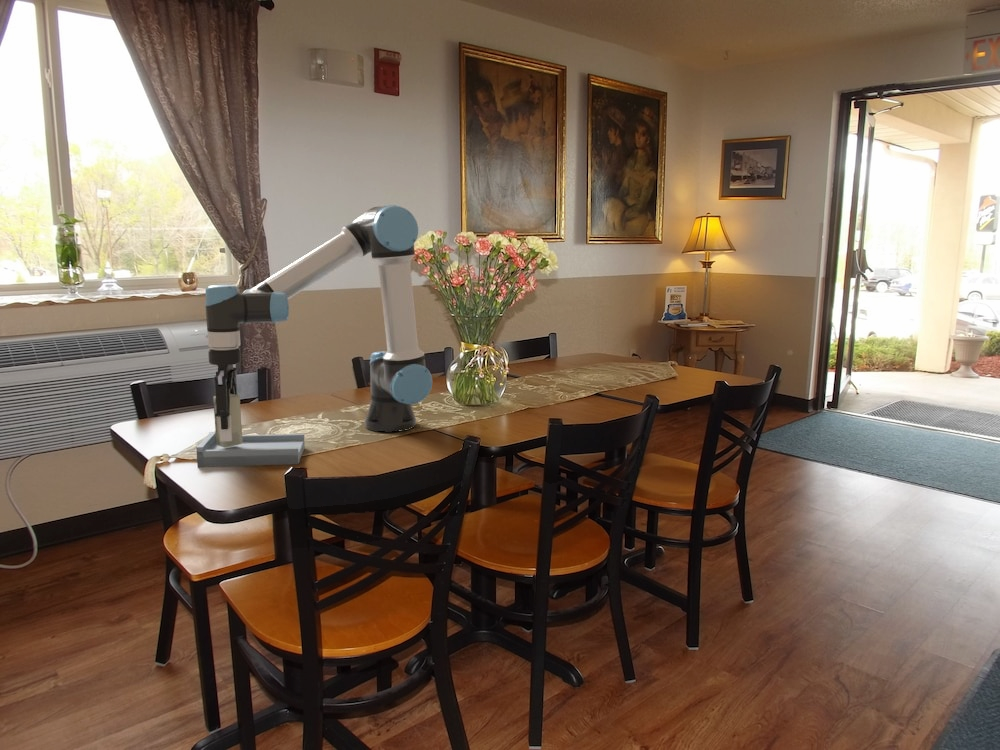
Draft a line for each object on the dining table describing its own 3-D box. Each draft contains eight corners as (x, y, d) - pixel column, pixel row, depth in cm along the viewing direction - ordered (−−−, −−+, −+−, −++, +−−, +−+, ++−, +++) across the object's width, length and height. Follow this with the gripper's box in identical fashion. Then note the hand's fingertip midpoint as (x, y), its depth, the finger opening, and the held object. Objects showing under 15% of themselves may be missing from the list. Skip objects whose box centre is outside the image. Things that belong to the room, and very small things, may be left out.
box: (233, 441, 186) (231, 392, 184) (243, 444, 183) (241, 395, 181) (214, 445, 182) (212, 395, 179) (224, 448, 179) (221, 398, 177)
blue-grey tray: (304, 448, 193) (304, 430, 192) (298, 464, 179) (297, 444, 178) (211, 450, 189) (210, 432, 188) (197, 467, 175) (196, 447, 174)
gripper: (217, 342, 186) (222, 427, 191) (198, 353, 168) (204, 448, 172) (247, 342, 188) (251, 427, 192) (232, 353, 169) (236, 447, 173)
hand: (229, 437), depth 182 cm, fingers closed on box, 6 cm apart
